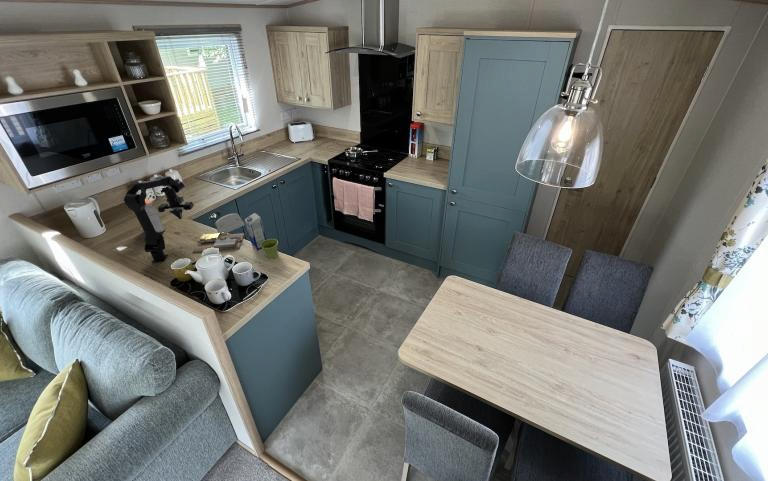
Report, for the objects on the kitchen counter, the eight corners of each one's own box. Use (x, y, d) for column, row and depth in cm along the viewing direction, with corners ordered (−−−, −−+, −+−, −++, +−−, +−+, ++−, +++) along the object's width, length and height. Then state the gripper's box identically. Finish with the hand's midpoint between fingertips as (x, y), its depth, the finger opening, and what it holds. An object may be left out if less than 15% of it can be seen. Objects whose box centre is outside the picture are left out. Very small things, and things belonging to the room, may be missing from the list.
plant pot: (284, 255, 195) (281, 242, 190) (269, 263, 189) (266, 250, 184) (275, 249, 200) (272, 236, 196) (260, 256, 195) (257, 244, 190)
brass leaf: (217, 241, 207) (216, 237, 206) (200, 242, 206) (199, 239, 205) (220, 235, 212) (219, 232, 211) (203, 237, 211) (202, 233, 210)
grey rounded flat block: (221, 235, 215) (214, 220, 212) (218, 235, 219) (211, 220, 215) (245, 224, 225) (239, 210, 222) (242, 224, 229) (236, 210, 226)
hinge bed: (238, 248, 202) (237, 243, 200) (193, 253, 199) (190, 247, 197) (244, 234, 215) (242, 229, 213) (201, 238, 213) (199, 233, 211)
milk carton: (267, 245, 204) (260, 216, 193) (257, 250, 200) (249, 220, 189) (262, 241, 208) (254, 212, 197) (251, 245, 204) (243, 216, 193)
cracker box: (147, 227, 226) (134, 199, 215) (157, 223, 230) (144, 195, 218) (155, 234, 218) (142, 205, 207) (165, 230, 222) (152, 201, 210)
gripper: (192, 189, 210) (200, 211, 219) (160, 191, 209) (170, 214, 217) (186, 197, 201) (195, 220, 210) (152, 199, 199) (163, 222, 208)
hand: (181, 219), depth 211 cm, fingers closed
